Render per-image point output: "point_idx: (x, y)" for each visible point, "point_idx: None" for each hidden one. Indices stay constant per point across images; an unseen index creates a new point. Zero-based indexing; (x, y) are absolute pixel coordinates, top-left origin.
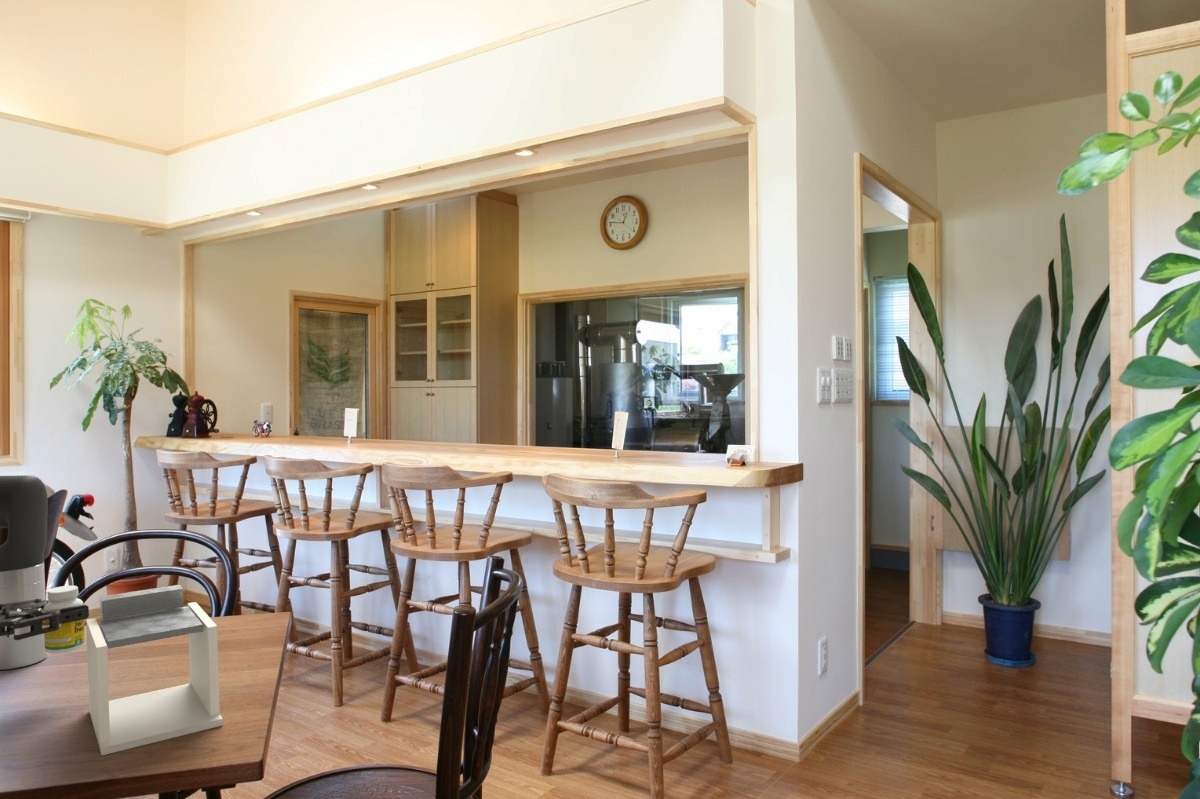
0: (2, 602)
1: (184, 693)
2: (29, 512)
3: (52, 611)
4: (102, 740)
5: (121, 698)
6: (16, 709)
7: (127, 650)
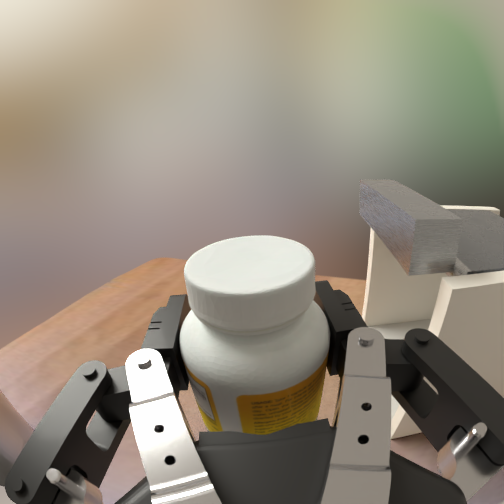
0: None
1: (401, 331)
2: None
3: (379, 347)
4: None
5: None
6: None
7: (108, 361)
